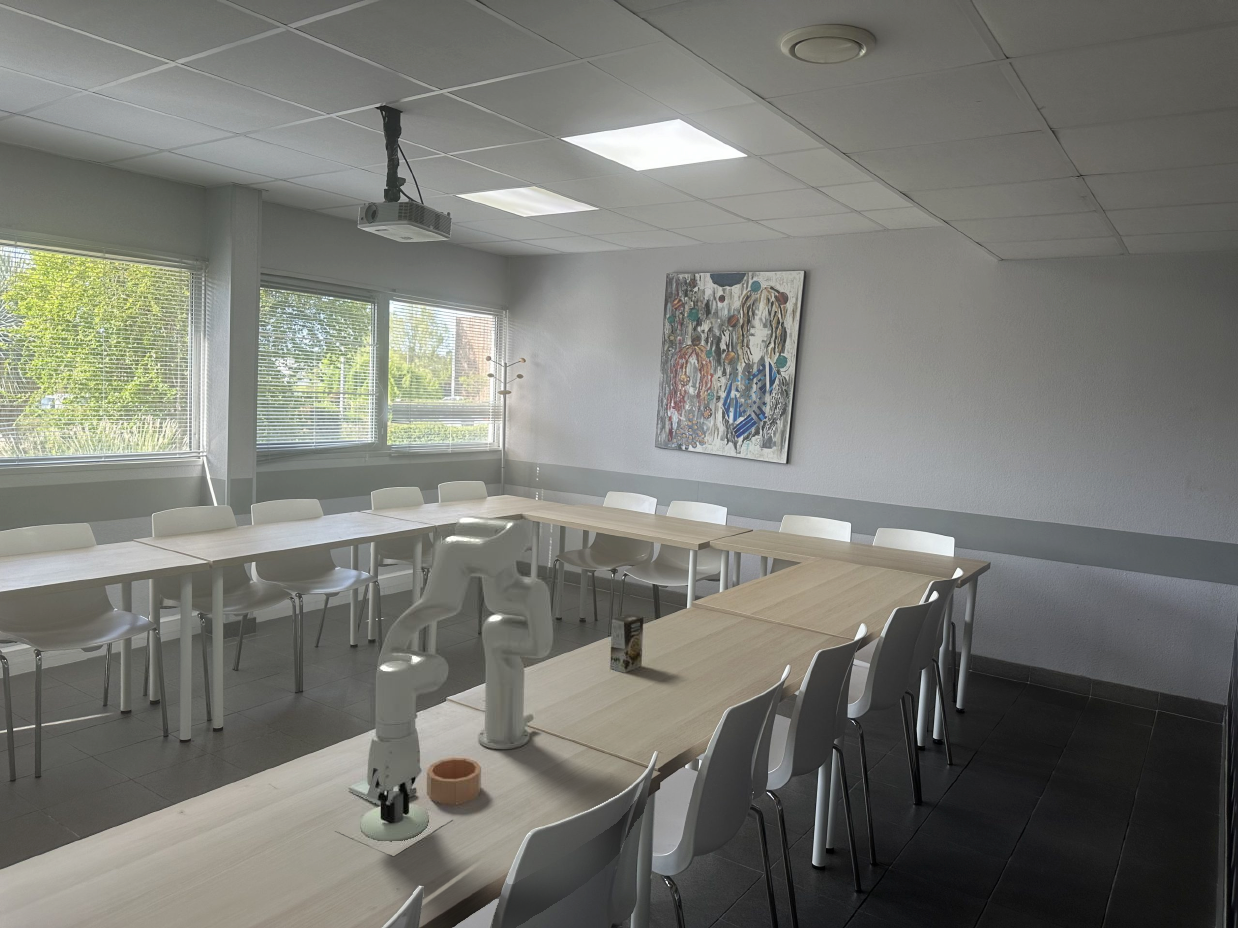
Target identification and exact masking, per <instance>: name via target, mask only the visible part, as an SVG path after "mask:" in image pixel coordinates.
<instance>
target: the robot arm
mask: <svg viewBox="0 0 1238 928" xmlns="http://www.w3.org/2000/svg"><path fill="white" fill-rule="evenodd" d="M454 534H455V535H451V536H450V535H449V536H448V537H446V538H445V539H443V540H442V542H441V543H440V545H439V548H438V551H437V552H436V556H435V559H434V562H433V565H432V567H431V570H430V573H429V576H428V579H427V582H426V585H425V587H424V591H423V593H422V596H421V597H420V599H419V600H417V602H416V603H414V604H413V605H412V606H410V607H409V608H408V609H406V610H405V611H404V612H402V614H401V615H400V616H399V617H398V619H396V620H395V622H394V623H393V624H392V625H391V626H390V628H389V630H388V632H387V634H386V636H385V639H384V642H383V645H382V647H381V650H380V653H379V657H378V661H377V667H376V668H377V669H376V674H375V735H374V736H372V739H371V742H370V747H369V751H368V752H369V753H368V759H367V761H368V762H367V774H366V775H367V776H366V779H367V783H368V785H369V786H370V787H369V790H368V793H367V796H368V797H371V798H374V799H377V800H378V801H380V802H381V820H383V821H386V822H388V823H391V824H392V823H393V822H394V818H395V804H394V803H393V802H392V798H393V788H394V787H396V786H398V790H399V791H401V792H403V814H404V815H407V814H409V803H410V797H409V794H410V793H411V792H412V786H413V785H414V784H415V782H416V779H417V778H418V777H419V776H420V775H421V773H422V767H421V752H420V751H421V750H420V747H421V746H420V740H419V734H418V733H419V732H418V730H417V727H416V719H417V718H418V714H417V712H416V706H417V705H416V703H417V702H416V701H417V700H416V699H417V697H418V696H420V695H423V694H424V695H425V694H428V693H431V692H435V691H436V690H438V689H439V688H441V686H442V685H443V684H444V683H445V682H446V681H447V678H448V676H449V675H448V674H449V664H448V662H447V661H446V659H445V658H444V657H443V656H441V655H440V654H436V653H432V652H427V651H426V652H424V651H421V650H414V649H408V648H407V647H408V645H409V643H410V641H411V639H412V638H413V637H414V635H416V633H418V631H420V630H421V629H423V628H424V627H427V626H428V625H430V624H433V623H436V622H438V621H442V620H443V619H447V618H450V617H452V616H455V615H457V614H459V612H460V611H461V610H462V607H463V606H462V605H463V604H464V603H463V602H464V599H465V597H466V593H467V590H468V588H469V586H470V585H469V584H470V581H471V579H472V577H481V583H482V590H483V599H484V602H485V603H484V604H485V606H486V608H487V609H488V610H489V611H490V612H492V613H495V614H493V615H490V616H488V618H486V620H485V621H484V623H483V626H482V631H481V633H482V634H481V636H482V643H483V645H482V646H483V650H484V659H485V685H484V686H485V687H484V689H485V692H484V696H485V697H484V698H485V699H484V729H481V731H480V732H479V733H478V736H477V740H478V742H479V744H481V746H484V747H486V748H489V749H493V750H511V749H516V748H520V747H521V746H523V745H525V744H527V743H528V742H529V741H530V733H529V731H528V730H527V729H526V726H527V724H528V723H531V722H533V720H534V715H533V714H532V713H528V714H526V715H524V712H525V711H524V709H525V707H524V705H525V668H524V664H523V661H522V659H521V657H527V658H533V659H535V658H536V659H541V658H542V659H543V658H545V657H546V656H547V655H549V653H550V652H551V650H552V647H553V642H554V629H553V617H552V616H553V615H552V606H551V605H552V604H551V603H552V602H551V594H550V590H549V588H548V586H547V584H546V582H544V580H541V579H540V578H536V577H532V576H523V575H522V576H521V575H520V574H519V573H518V567H517V563H516V562H517V560H518V559H520V558H521V557H522V556H523V554H524V553H525V551H526V550H527V547H528V545H529V540H530V539H529V538H530V537H529V536H530V534H529V530H528V527H527V526H526V525H525V524H524V523H523V522H521V521H519V520H514V519H507V518H505V519H504V518H493V517H487V516H485V517H484V516H476V515H475V516H474V515H471V516H470V515H469V516H468V515H466V516H464V517H461V518H460V519H459V520H458V521H457V522H456V524H455V528H454ZM413 787H414V786H413ZM378 789H379V790H378ZM385 791H387V794H386V795H385Z"/></svg>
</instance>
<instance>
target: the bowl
mask: <svg viewBox="0 0 1238 928" xmlns="http://www.w3.org/2000/svg"><path fill="white" fill-rule="evenodd" d="M481 790H482V766H481V765H480V764H479V762H478V761H477V760H473V759H470V758H466V757H451V758H450V757H449V758H445V759H439V760H438V761H436V762H434V763H432V764H430V765H429V767H428V769H427V770H426V795H427V797H428V796H429V797H428V799H429V800H430V799H431V800H430V801H432V800H434V801H433V802H435V801H437V802H440V803H447V804H446V805H457V804H456V803H460V804H462V803H461V802H464V803H468V802H467V801H469V802H470V800H471V801H472V800H474V799H476V798H477V797H478V796H479V794H480V792H481ZM475 797H476V798H475ZM473 798H474V799H473ZM465 801H466V802H465ZM437 802H436V803H437ZM440 803H439V804H440Z"/></svg>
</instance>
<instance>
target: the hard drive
mask: <svg viewBox="0 0 1238 928" xmlns="http://www.w3.org/2000/svg"><path fill="white" fill-rule="evenodd" d="M369 787H370V786H369V785H368V783H367V778H366V779H363V780H361V781H359V782H357V783H354V784H352V785H350V786H349V787H348V789H347V790H350V791H352V792H354V793H356V794H358V795H360V796H363V797H365V798H366V799H368V800H370V801H372V802H371V803H373V804H375V803H376V805H378V806H379V807H380V806H381V802H380V801H378V800H377V799H374V798H371V797H368V796H367V793H368V790H369ZM378 790H379V789H378ZM417 790H418V789H417V787H415V786H412V792H411V793H410V794H409V798H411V797H413V796H415V795H417V794H418V792H417ZM350 791H349V792H350ZM393 791H399V790H398V786H396V787H394V788H393ZM352 792H351V793H352ZM386 794H387V791H385V795H386ZM368 800H367V801H368ZM370 801H369V802H370Z"/></svg>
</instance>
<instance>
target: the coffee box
mask: <svg viewBox="0 0 1238 928" xmlns="http://www.w3.org/2000/svg"><path fill="white" fill-rule="evenodd" d="M610 633H611V634H610V635H611V639H610V657H609V658H610V660H609V668H610V669H611V670H614V671H618V672H620V673H628V672H631V671H632V670H635V669H638V668H640V667H642V666H643V665H642V663H643V642H644V641H643V639H644V638H643V637H644V636H643V635H644V617H643V616H639V615H635V614H634V615H633V614H629V613H628V614H625V615H621V616H619V617H615V618H612V619H611V632H610Z"/></svg>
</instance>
